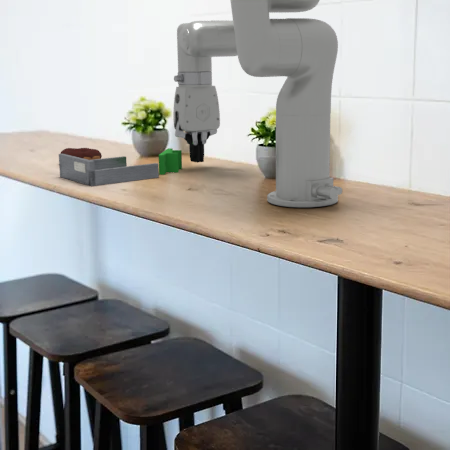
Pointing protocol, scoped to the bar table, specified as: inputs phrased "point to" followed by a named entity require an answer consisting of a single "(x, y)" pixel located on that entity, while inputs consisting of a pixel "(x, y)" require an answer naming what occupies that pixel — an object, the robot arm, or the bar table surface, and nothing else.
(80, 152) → the donut
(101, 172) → the grey tray
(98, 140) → the bar table surface
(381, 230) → the bar table surface
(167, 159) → the green stepped block
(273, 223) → the bar table surface
